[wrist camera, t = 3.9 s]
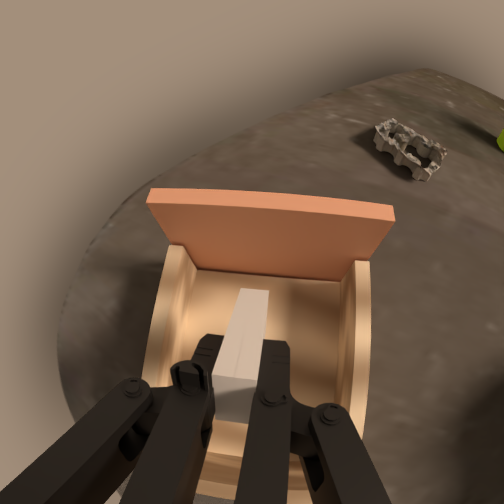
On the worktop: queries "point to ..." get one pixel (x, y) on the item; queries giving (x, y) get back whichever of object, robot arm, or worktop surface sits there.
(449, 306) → the worktop surface
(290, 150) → the worktop surface
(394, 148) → the egg carton
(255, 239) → the panel
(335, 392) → the wooden open box
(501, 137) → the soap dispenser
